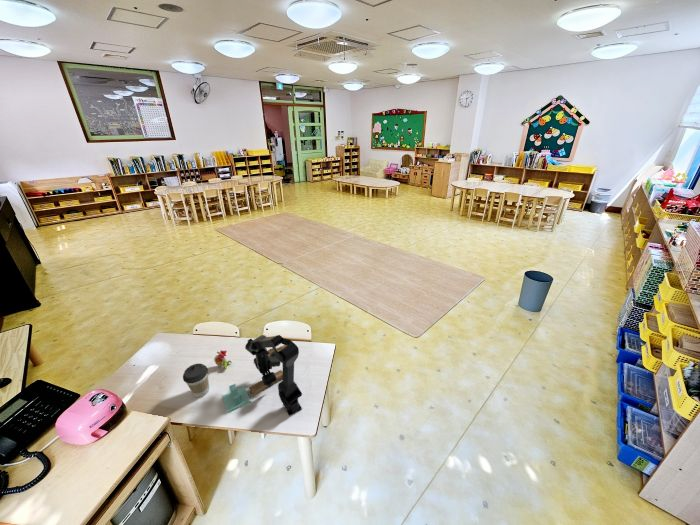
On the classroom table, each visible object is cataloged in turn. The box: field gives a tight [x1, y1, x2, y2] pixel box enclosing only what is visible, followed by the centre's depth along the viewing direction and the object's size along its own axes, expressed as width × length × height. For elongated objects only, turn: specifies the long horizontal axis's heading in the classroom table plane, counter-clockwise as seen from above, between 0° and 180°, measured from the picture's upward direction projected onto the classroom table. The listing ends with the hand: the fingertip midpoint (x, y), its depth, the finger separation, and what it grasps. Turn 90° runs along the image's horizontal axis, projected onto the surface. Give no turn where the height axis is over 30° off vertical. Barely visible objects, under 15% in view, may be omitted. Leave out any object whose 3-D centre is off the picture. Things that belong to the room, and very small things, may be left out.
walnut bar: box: [248, 369, 283, 397], centre depth 154 cm, size 4×18×4 cm, turn 129°
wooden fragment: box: [267, 344, 287, 357], centre depth 175 cm, size 26×11×1 cm, turn 116°
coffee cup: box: [182, 363, 210, 398], centre depth 149 cm, size 11×11×15 cm
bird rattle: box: [213, 349, 232, 370], centre depth 165 cm, size 6×11×9 cm
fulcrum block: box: [222, 383, 251, 414], centre depth 146 cm, size 11×11×6 cm
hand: (267, 381), depth 153 cm, fingers open, 9 cm apart
